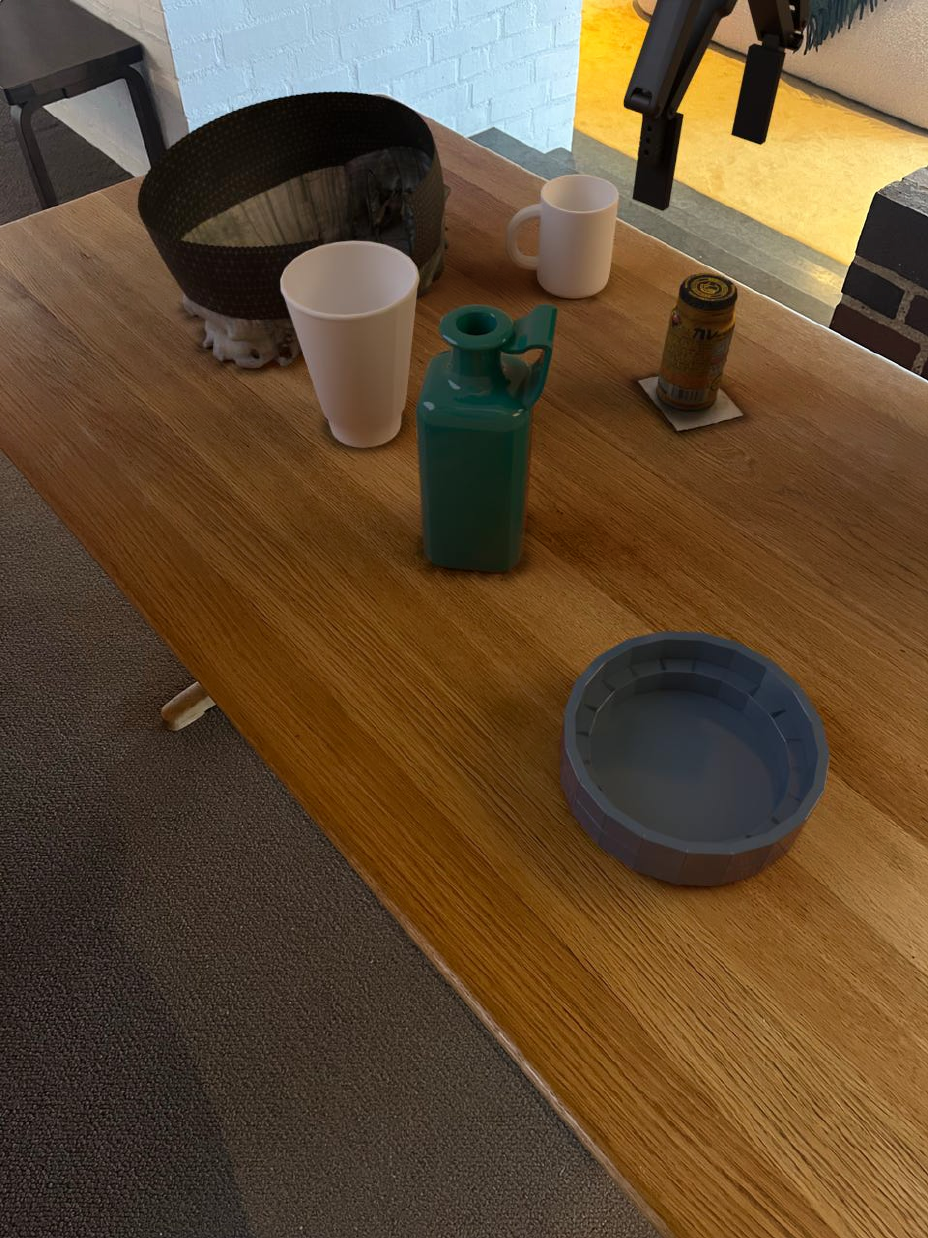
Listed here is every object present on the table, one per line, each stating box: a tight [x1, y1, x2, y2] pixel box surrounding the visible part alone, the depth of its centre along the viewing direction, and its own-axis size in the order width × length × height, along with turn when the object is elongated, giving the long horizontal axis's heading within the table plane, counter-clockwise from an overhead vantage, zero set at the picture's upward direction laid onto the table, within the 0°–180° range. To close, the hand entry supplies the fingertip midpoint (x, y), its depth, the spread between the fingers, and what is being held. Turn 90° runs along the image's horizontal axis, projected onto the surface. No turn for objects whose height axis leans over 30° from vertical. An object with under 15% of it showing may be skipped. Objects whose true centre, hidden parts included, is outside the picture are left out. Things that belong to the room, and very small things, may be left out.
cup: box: [280, 241, 420, 449], centre depth 88 cm, size 12×12×16 cm
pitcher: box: [414, 303, 559, 574], centre depth 75 cm, size 10×8×22 cm
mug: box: [504, 173, 620, 300], centre depth 106 cm, size 12×8×10 cm
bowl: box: [558, 630, 831, 887], centre depth 67 cm, size 18×18×6 cm
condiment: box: [637, 272, 744, 432], centre depth 91 cm, size 7×8×12 cm
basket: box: [137, 91, 452, 369], centre depth 102 cm, size 28×35×16 cm
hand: (701, 169), depth 73 cm, fingers open, 13 cm apart
